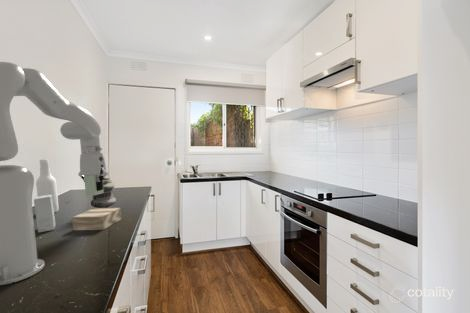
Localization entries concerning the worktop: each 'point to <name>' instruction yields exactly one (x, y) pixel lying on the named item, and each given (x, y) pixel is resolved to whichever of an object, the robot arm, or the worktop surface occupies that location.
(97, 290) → the worktop surface
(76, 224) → the birch block
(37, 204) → the skincare box
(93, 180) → the sage block
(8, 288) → the worktop surface
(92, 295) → the worktop surface
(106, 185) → the apothecary jar
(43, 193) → the alcohol
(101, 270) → the worktop surface
